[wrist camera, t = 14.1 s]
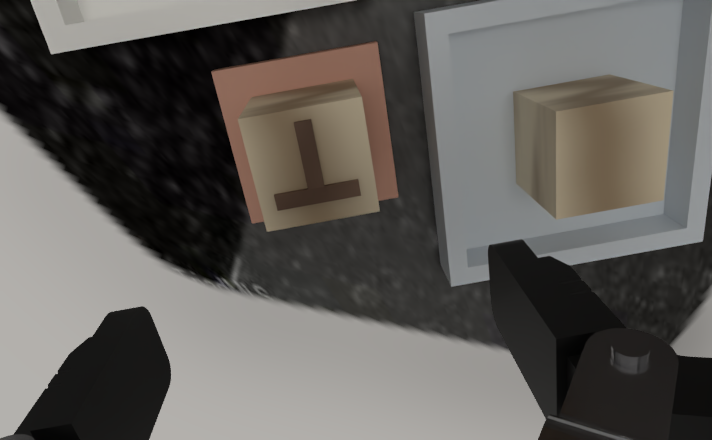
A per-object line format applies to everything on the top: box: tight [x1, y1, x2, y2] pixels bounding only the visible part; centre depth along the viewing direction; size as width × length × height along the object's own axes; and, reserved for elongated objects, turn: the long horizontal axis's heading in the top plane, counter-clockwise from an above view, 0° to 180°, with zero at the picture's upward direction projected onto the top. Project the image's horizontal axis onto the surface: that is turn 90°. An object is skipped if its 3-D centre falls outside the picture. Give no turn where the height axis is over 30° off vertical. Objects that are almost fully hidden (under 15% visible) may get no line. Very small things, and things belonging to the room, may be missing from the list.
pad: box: [211, 41, 399, 223], centre depth 26 cm, size 8×8×1 cm
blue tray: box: [414, 0, 712, 287], centre depth 26 cm, size 14×14×3 cm
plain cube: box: [513, 74, 674, 220], centre depth 25 cm, size 5×5×5 cm
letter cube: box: [238, 79, 380, 232], centre depth 23 cm, size 5×5×5 cm
